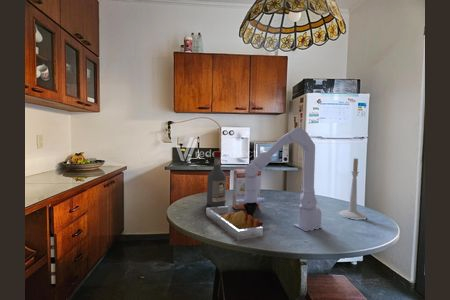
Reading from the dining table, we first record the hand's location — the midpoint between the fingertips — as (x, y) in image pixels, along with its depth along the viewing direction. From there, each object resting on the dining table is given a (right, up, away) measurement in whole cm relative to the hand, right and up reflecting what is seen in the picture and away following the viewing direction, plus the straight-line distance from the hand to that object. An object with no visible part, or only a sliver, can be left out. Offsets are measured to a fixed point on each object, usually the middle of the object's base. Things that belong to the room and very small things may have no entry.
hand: (249, 218), depth 121 cm
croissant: (-5, -2, -4) cm, 7 cm away
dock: (-9, -1, -4) cm, 10 cm away
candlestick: (+53, -2, +13) cm, 55 cm away
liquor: (-16, +1, +28) cm, 32 cm away
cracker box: (0, 0, +23) cm, 23 cm away
